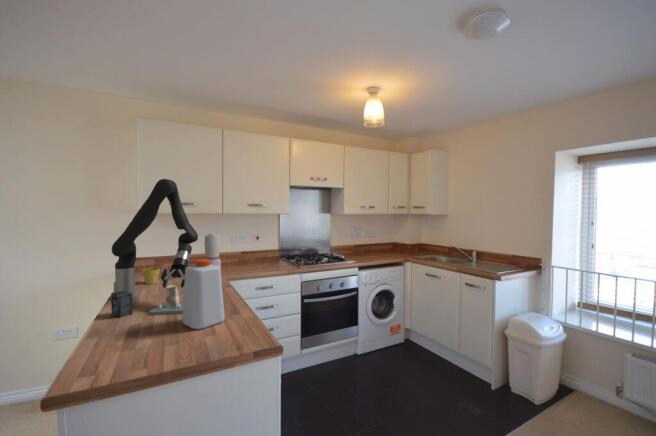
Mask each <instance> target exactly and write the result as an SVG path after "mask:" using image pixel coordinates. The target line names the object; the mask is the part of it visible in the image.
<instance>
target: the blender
mask: <svg viewBox="0 0 656 436" xmlns="http://www.w3.org/2000/svg"><path fill="white" fill-rule="evenodd" d="M220 252H221V235H220V234H217V233H215V232H211V233H208V234H207V235H204V253H205V259H209V260H210V264H211V265H216V266H219V267H220V269H221V270H222V261H221V258H220Z"/></svg>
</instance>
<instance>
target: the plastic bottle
mask: <svg viewBox="0 0 656 436" xmlns="http://www.w3.org/2000/svg"><path fill="white" fill-rule="evenodd" d="M184 276H185V285H184V287H183V300H182V301H183V314H182V320H181V322H182V324H183V325H185V326H186V327H189V328H191V329H193V330H202V329H203V330H204V329H206V328H209V327H211V326H215V325H218V324H219V325H220V324H221V323H223V322H224V321H225V306H224V295H223V283H222V268H221V269H220V267H219V266H216V265H211V264H210V260H209V259H206V258H202V259H197V260H195V265H191V266H187V268H186V270H185V274H184Z"/></svg>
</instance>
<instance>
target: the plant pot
mask: <svg viewBox="0 0 656 436" xmlns="http://www.w3.org/2000/svg"><path fill="white" fill-rule="evenodd" d="M160 270H161V269H160V268H159V267H148V268H144V269H142V270H141V272H142V273H141V274H142V275H143V278H144V281H145V284H146V285H155V284H157V283H158V280H159V274H160V273H161V271H160Z"/></svg>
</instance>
